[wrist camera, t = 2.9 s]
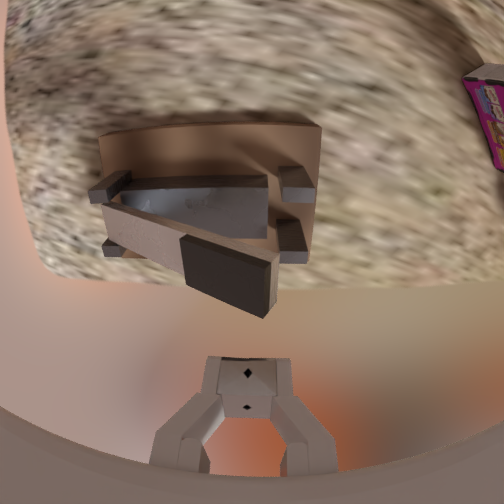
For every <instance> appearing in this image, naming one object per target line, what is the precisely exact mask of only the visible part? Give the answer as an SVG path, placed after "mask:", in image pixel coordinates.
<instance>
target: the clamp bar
mask: <svg viewBox="0 0 504 504" xmlns="http://www.w3.org/2000/svg"><path fill="white" fill-rule="evenodd" d="M101 208H102V212H103V217H104V221H105V225H106V229H107V233H108V237H109V240H111V241H113V242H115V243H117V244H119V245H121V246H123V247H125V248H127V249H129V250H131V251H133V252H135V253H137V254H139V255H142V256H144V257H146V258H148V259H150V260H152V261H154V262H156V263H159V264H161V265H163V266H165V267H167V268H169V269H171V270H174V271H176V272H178V273H180V274H182V275H185V280H186V285H188V286H190V287H192V288H194V289H197V290H199V291H201V292H203V293H205V294H208V295H210V296H212V297H214V298H216V299H219V300H221V301H223V302H225V303H227V304H230V305H232V306H234V307H237V308H239V309H241V310H244V311H246V312H248V313H250V314H253V315H255V316H258V317H260V318H262V319H263V318H264V317H265V316H266V314H267V313H268V312H269V311H270V310H271V308H272V307H273V306H274V305H275V303H276V301H277V287H278V273H279V258H280V254H278V253H275V252H272V251H269V250H266V249H263V248H260V247H256V246H253V245H250V244H247V243H244V242H241V241H237V240H234V239H231V238H228V237H225V236H222V235H218V234H215V233H212V232H209V231H206V230H203V229H199V228H196V227H193V226H190V225H187V224H183V223H180V222H177V221H174V220H171V219H167V218H164V217H161V216H158V215H155V214H151V213H148V212H145V211H142V210H138V209H135V208H132V207H129V206H125V205H122V204H119V203H116V202H112V201H110V202H109V203H103V204H101Z"/></svg>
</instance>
